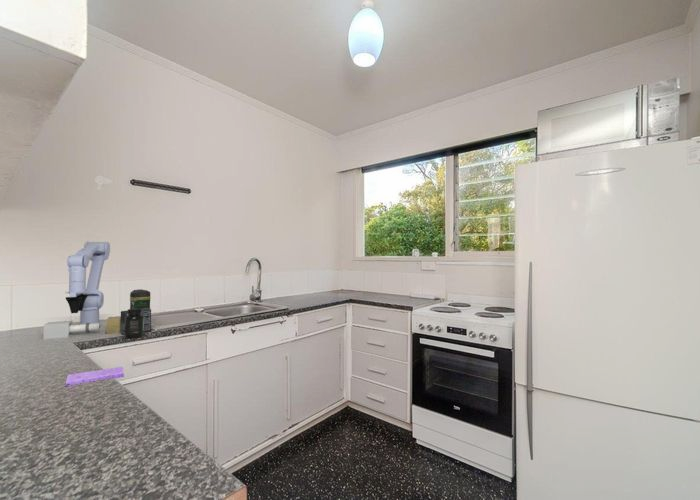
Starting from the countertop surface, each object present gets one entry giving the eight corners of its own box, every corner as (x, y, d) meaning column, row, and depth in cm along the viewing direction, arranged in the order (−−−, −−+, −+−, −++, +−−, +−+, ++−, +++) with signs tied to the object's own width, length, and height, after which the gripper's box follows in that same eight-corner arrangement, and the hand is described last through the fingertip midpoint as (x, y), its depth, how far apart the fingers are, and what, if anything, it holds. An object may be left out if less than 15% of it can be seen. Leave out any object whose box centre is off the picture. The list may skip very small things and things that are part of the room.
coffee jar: (152, 327, 158) (152, 289, 159) (133, 329, 152) (134, 290, 153) (145, 324, 165) (146, 288, 165) (127, 327, 159) (127, 289, 159)
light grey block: (43, 339, 133) (43, 324, 134) (48, 336, 139) (48, 322, 139) (68, 337, 137) (68, 322, 138) (72, 334, 143) (72, 320, 143)
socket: (105, 334, 143) (106, 319, 144) (108, 331, 150) (108, 317, 150) (119, 332, 146) (119, 318, 146) (121, 329, 152) (121, 316, 152)
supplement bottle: (147, 335, 141) (147, 307, 142) (135, 338, 135) (136, 310, 135) (132, 334, 142) (133, 307, 142) (120, 338, 135) (120, 310, 136)
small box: (145, 329, 152) (146, 307, 153) (151, 331, 148) (152, 308, 149) (119, 334, 144) (120, 310, 144) (125, 336, 140) (125, 311, 140)
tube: (44, 337, 134) (44, 327, 135) (47, 335, 138) (47, 325, 138) (98, 332, 143) (98, 322, 143) (100, 330, 147) (100, 321, 147)
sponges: (68, 381, 89) (68, 374, 89) (123, 371, 96) (123, 365, 96) (64, 389, 83) (65, 382, 83) (124, 378, 91) (124, 372, 91)
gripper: (70, 281, 148) (69, 310, 148) (60, 282, 136) (60, 315, 135) (89, 280, 152) (89, 309, 151) (82, 282, 139) (81, 313, 138)
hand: (76, 311), depth 143 cm, fingers open, 7 cm apart
